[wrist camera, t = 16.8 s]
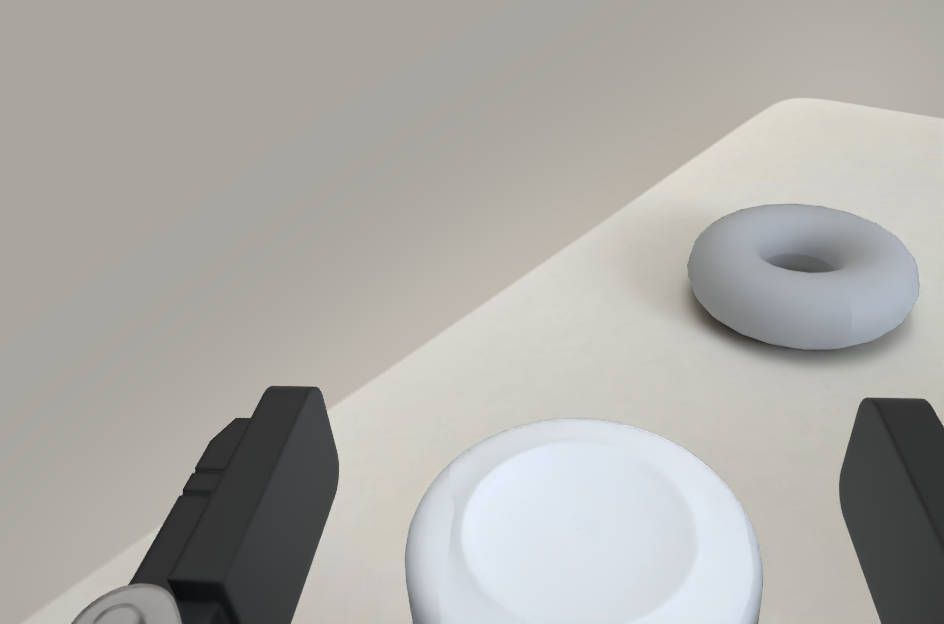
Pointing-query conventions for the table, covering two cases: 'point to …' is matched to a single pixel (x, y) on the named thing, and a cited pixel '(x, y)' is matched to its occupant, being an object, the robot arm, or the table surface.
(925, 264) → the table surface
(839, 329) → the donut
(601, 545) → the sprinkles bottle
